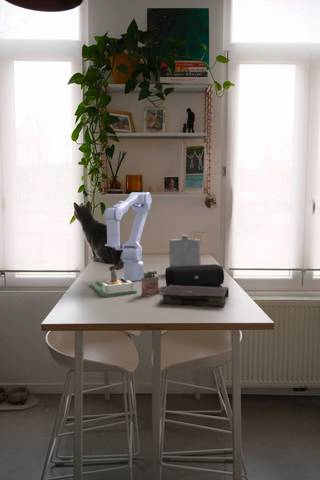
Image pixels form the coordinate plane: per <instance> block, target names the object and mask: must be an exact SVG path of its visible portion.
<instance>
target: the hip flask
mask: <svg viewBox="0 0 320 480" xmlns="http://www.w3.org/2000/svg"><path fill="white" fill-rule="evenodd" d="M180 237H181V238H180V239H179V238H178V239H169V240H168V241H169V243H168V245H169V267H170V266H183V265H202V264H201V263H202V262H201V261H202V260H201V257H202V254H201V252H202V251H201V250H202V249H201V239H196V238H189V235H188V234H181V236H180Z"/></svg>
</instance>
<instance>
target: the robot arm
mask: <svg viewBox="0 0 320 480" xmlns="http://www.w3.org/2000/svg"><path fill="white" fill-rule="evenodd" d="M152 202H153V199H152V195H151V193H150V192H149V191H146V192H142V191H139V192H135V191H132V192H131V193H129V194H128V197H127V198H126V199H125V200H119V201H118V202H117V203H116V204H113V206H112V207H107V209H105V210H104V214H103V217H104V220H105V224H106V237H107V238H106V239H107V240H106V241H107V242H106V243H104V246H105V247H104V250H105V252H106V254H107V255H106V256H107V259H108V262H109V263H110V264H113V265H114V266H119V265H120V260H121V261H122V263H123V276H122V277H121V280H122V281H123V280H124V282H126V280H129V281H131V282H135V281H142V280H141V278H142V277H144V273H145V266H144V262H143V261H142V258H143V246H142V245H141V244H140V241H141V238H142V234H143V230H144V227H145V224H146V219H147V216H148V212H149V211H150V209H151V205H152ZM130 207H132V209H133V211H134V212H135V213H136V215H135V218H134V221H133V225H132V228H131V232H130V234H129V235H130V236H129V239H128V241H125V243H123V245H122V247H121V243H120V242H121V237H120V236H121V235H120V234H121V231H120V229H121V228H120V223H121V222H120V221H121V220H122V218H123V216H124V215H125V214H126V213H127V212H128V211H129V209H130Z"/></svg>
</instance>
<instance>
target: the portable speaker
mask: <svg viewBox="0 0 320 480" xmlns="http://www.w3.org/2000/svg"><path fill="white" fill-rule="evenodd" d="M164 271H165V275H164V276H165V277H164V278H165V286H166V287H168V286H169V285H179V286H204V287H220V285H223V284H224V282H225V271H224V267H223V266H222V265H220V264H215V263H214V264H201V265H183V266H170V265H169V266H168V267H166V268H165V270H164Z"/></svg>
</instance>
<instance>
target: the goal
mask: <svg viewBox="0 0 320 480" xmlns="http://www.w3.org/2000/svg"><path fill="white" fill-rule="evenodd" d="M133 289H134V283H133V281H129V280H126V281H125V282H124V283H123V284H113V285H107V284H106V283H102V290H103V292H105V293H106V294H110V293H119V292H128V291H133Z"/></svg>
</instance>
